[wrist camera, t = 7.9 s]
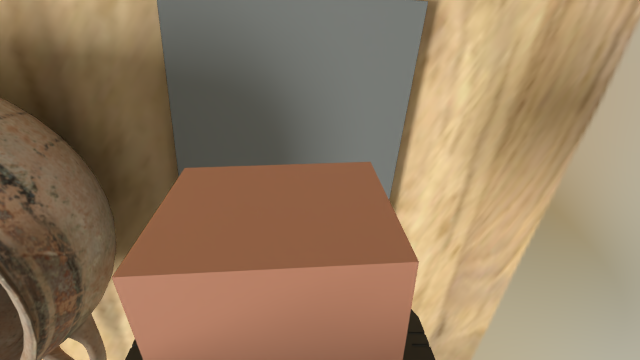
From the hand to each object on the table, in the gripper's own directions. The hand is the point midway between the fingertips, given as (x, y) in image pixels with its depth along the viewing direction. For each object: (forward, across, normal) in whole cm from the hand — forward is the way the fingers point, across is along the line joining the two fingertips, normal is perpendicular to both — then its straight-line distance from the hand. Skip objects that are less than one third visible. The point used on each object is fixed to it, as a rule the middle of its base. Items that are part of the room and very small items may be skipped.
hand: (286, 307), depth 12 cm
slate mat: (+15, 0, 0) cm, 15 cm away
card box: (+1, 0, 0) cm, 1 cm away
